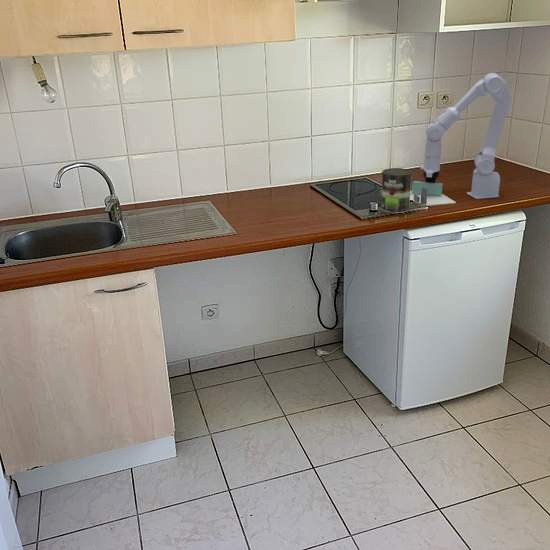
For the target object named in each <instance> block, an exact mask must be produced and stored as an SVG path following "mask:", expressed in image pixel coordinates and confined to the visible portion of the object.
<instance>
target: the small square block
mask: <svg viewBox="0 0 550 550" xmlns="http://www.w3.org/2000/svg"><path fill="white" fill-rule="evenodd" d="M427 190H428V189H426V188H422V190H421V204H423V205H425V204H426V203H427ZM419 200H420V197H419V196H417V195H414V201H416V202H417V203H418V202H419Z"/></svg>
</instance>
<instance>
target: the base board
mask: <svg viewBox="0 0 550 550" xmlns="http://www.w3.org/2000/svg"><path fill="white" fill-rule="evenodd" d="M414 195H417V196H419V197H420V200H419V202H418V203H421V194H412V190H411V191H410V200H413V201H414ZM452 204H457V202H456V201H455V200H453V199H451V198H449V197H448V196H447V195H445V194H444V193H442V195H441V196H435V195H427V203H426V204H425V205H426V206H425V207H428V206H429V207H432V206H440V205H441V206H442V205H452Z"/></svg>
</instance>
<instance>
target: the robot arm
mask: <svg viewBox="0 0 550 550" xmlns="http://www.w3.org/2000/svg"><path fill="white" fill-rule="evenodd" d="M487 93H489V95H491V97H492V99H493V100H494V107H493V111H492V113H491V115H490V116H491V117H490V120H489V124H488V126H487V130H486V133H485V136H484V138H483V139H484V140H483V144H482V146H481V147H480V149H479V151H478V154H477V155H476V156H475V157H474V161H473V162H474V165H475V169H474V170H473V171H472V180H471V181H472V182H471V191H467V192H466V194H467V195H468V196H470V197H472V198H473V199H476V200H480V199H490V198H491V199H492V198H500V195H499V191H500V184H501V176H500V174H499V172H497V171H494V170H495V168H496V164H495V159H496V154H497V153H496V151H497V147H498V143H499V141H500V138H501V135H502V131H503V127H504V125H505V121H506V118H507V115H508V112H509V108H510V105H511V102H512V97H511V94H510V91H509V88H508V83H507V82H506V80H505V79H504V78H503V77H502V76H500V75H499V74H497V73H496V72H490V73H486V74H485V75H484V77H483V78H481V79H479V80H478V81H477V82H476V83H475V84H474V85H473V86H472V87H471V88H470V89H469V90H468V91H467V92H466V94H465V95H463V97H462V98H460V100H458V102H456V104H455V105H454V106H448V107H447V108H444V109H443V110H442V113H441V114H440V115H439V116H438V117H437V118H433V120H432V123H429V124H428V126H427V128H426V130H425V133H426V143H425V150H424V151H425V152H424V163H423V166H420V170H423V171H424V172H423V177H424V179H425V182H430V183H436V181H437V178H438V176H439V175H440V172H439V171H441V157H442V156H441V154H442V138H443V137H444V134H445V132H446V131H448V130H449V129H451V127H452V126H453V125H455V123H456V122H457V121H458V120H460V116H461V112H463V111H464V110H465V109H466V108H467V107H469V105H471V104H472V103H473V102H474V101H475V100H476V99H477V98H479V97H484V96H487V95H488V94H487Z"/></svg>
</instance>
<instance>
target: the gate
mask: <svg viewBox="0 0 550 550" xmlns="http://www.w3.org/2000/svg"><path fill="white" fill-rule="evenodd" d="M411 188H412V189H411V191H412V194H421V190H422V188H426V189H428V190H427V195H435V196H441V195H442V194H443V183H441V182H435V183H430V182H426V181H417V180H416V181H415V180H414V181H412V185H411Z"/></svg>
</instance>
